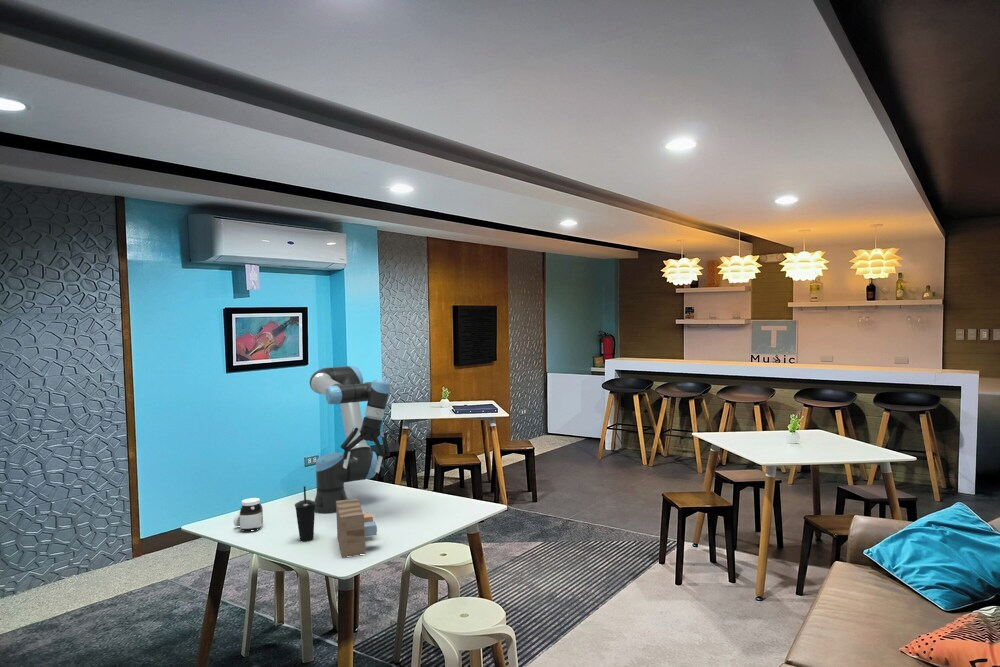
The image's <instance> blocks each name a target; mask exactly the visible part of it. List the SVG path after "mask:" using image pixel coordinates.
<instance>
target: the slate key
mask: <svg viewBox="0 0 1000 667" xmlns="http://www.w3.org/2000/svg"><path fill="white" fill-rule="evenodd" d="M377 532H378V525H377V523H376V520H375V521H374V520H373V522H365V523H364V534H365V538H366V537H372V536H378V534H377Z"/></svg>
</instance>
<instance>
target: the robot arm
mask: <svg viewBox="0 0 1000 667" xmlns="http://www.w3.org/2000/svg"><path fill="white" fill-rule="evenodd" d="M308 384H309V387H310V389H311V390H312V391H313V392H314V393H316V394H318V395H323V396H325V400H326V403H327V404H329V405H340V410H341V417H342V422H343V423H342V424H343V428H344V429H343V430H344V434H345V435H344V436H345V440H344V441H343V442H342V444H341V445H340V449H342V450H344V451H343V453H342V452H336V453H334V452H333V453H332V452H331V453H328V454H325V455H322V456H319V457H318V458H317V459H316V461H315V478H316V479H315V481H316V483H315V484H316V494H315V497H314V501H315V502H316V504H315V513H317V512H318V513H317V514H330V513H331V514H333V512H334V513H336V501H341V500H349V498H348V495H347V493H346V490H345V483H351V482H356V481H365V480H369V479H373V478H374V477H375V475H376V474H380V471H381V466H383V465H384V463H385V462H384V461H385V458H386V457H390V456H391V453H390V448H389V444H388V439H387V438H388V433H387V432H386V431H381V428H382V424H383V420H382V419H384V417H385V416H384V415H385V411H386V407H387V403H388V398H389V395H390V390H391V383H390V382H389V381H385V380H381V379H377V378H376V379H375V378H374V379H373V380H372V381H366V382H364V377H363V374H362V371H361V370H360V368H359V367H358V366H354V365H352V366H351V365H350V366H349V365H347V366H336V367H324V368H319V369H318V370H316V371H315V372H314V373H313V374H312V375H311V376H310V379H309V383H308ZM361 402H363V403H364V402H367V404H366V407H365V412H364V417H362V411H361V405H360V403H361ZM379 437H381V441H382V445H383V447H382V445H381V443H380V440H379ZM368 441H369V442H374V444H375V446H376V448H377V450H378V452H379V454H380V455H377V452H376V451H372V447H371V446H369V445H368V444H367V442H368Z"/></svg>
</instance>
